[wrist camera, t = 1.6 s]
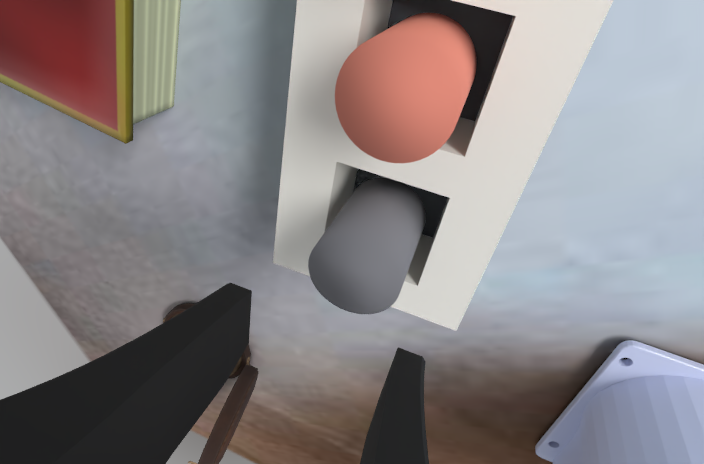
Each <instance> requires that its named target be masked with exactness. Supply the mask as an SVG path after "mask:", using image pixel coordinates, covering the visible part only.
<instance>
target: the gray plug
mask: <svg viewBox="0 0 704 464" xmlns="http://www.w3.org/2000/svg"><path fill="white" fill-rule="evenodd" d="M425 220H426V213H425V208H424V205H423V203H422V201H421V199H420V198H419V196H418V195H417V194H416V192H415V191H414V190H412V189H411V188H410V187H409V186H407V185H406V184H404V183H402V182H399V181H396V180H393V179H390V178H374V179H370V180H367V181H365V182H363V183H362V184H360V185H359V186H358V187H357V188H356V189H355V191H354V192H353V193H352V195H351V196H350V198H349V199H348V200H347V202H346V203H345V205H344V206H343V207H342V209H341V210H340V212H339V213H338V214H337V216H336V217H335V219H334V220H333V221H332V223H331V224H330V226H329V227H328V228H327V230H326V231H325V233H324V234H323V235H322V237H321V238H320V240H319V241H318V243H317V244H316V245H315V247H314V248H313V250H312V251H311V254H310V256H309V261H308V269H309V274H310V277H311V280H312V282H313V284H314V285H315V287H316V288H317V290H318V291H319V292H320V293H321V294H322V295H323V296H324V297H325V298H326V299H327V300H328V301H329V302H331V303H332V304H334V305H335V306H337V307H339V308H341V309H344V310H346V311H349V312H353V313H358V314H374V313H378V312H381V311H384V310H386V309H388V308H389V307H390V306H392V305H393V304H394V303H395V301H396V300H397V298H398V296H399V294H400V291H401V289H402V286H403V283H404V281H405V278H406V275H407V272H408V270H409V267H410V264H411V261H412V259H413V256H414V253H415V250H416V248H417V245H418V242H419V239H420V237H421V234H422V231H423V228H424V225H425Z"/></svg>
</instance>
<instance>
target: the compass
mask: <svg viewBox="0 0 704 464" xmlns="http://www.w3.org/2000/svg"><path fill="white" fill-rule="evenodd" d="M193 305H195V304H191V303H186V304H181V305H178V306H176V307H175V308H174V309H173V310H171V311H170V312H169V313H168V315H167V316H166V317H165V318H164V320H163V322H164V323H165V322H166V321H168V320H170V319H171V318H173V317H175V316H177V315H178V314H180V313H182V312H183V311H185V310H186V309H188V308H190V307H191V306H193ZM250 355H251V353H250V349H249V345H247V347H246V349H245V350H244V352H243V354H242V356H241V358H240V359H239V361H238V363H237V365H236V366H235V368H234V370H233V371H232V373H231V375H230V376H229V378H235V377H237V376H239V377H238V379H237V381H236V383H235V385H234V387H233V389H232V391H231V392H230V394H229V396H228V398H227V401H226V403H225V405H224V407H223V409H222V411H221V413H220V415H219V417H218V419H217V421H216V423H215V426H214V428H213V430H212V432H211V434H210V436H209V439H208V441H207V443H206V445H205V448H204V450H203V453H202V455H201V457H200V460H199V462H198V464H219V462H220V461H221V459H222V458H223V455H224V453H225V451H226V449H227V447H228V445H229V443H230V441H231V439H232V436H233V434H234V432H235V430H236V428H237V426H238V423H239V421H240V419H241V417H242V415H243V412H244V410H245V408H246V406H247V403H248V401H249V399H250V397H251V394H252V392H253V390H254V387H255V384H256V380H257V376H258V371H257V370H258V369H257V368H255V367H253V366H250V364H249V362H250ZM188 463H191V464H197V463H194V462H191V461H189V462H188Z"/></svg>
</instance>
